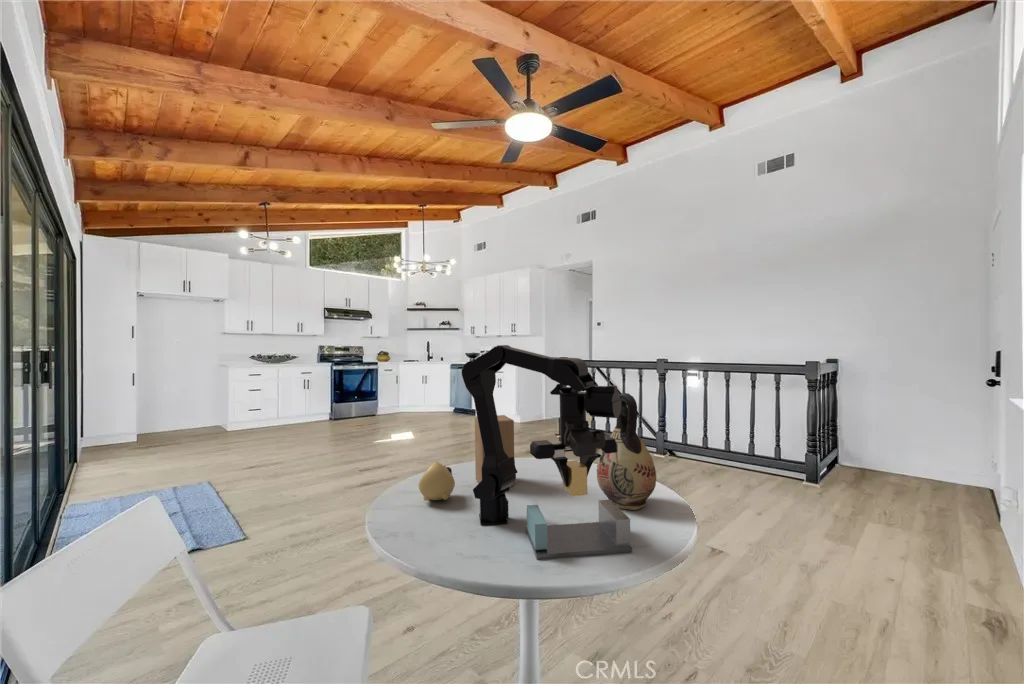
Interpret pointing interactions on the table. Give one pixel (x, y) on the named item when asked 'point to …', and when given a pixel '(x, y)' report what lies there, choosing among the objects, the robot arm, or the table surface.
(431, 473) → the toy pig
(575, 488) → the brass block
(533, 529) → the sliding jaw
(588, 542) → the vise base
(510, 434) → the wooden block
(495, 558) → the table surface
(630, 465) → the ceramic jug
